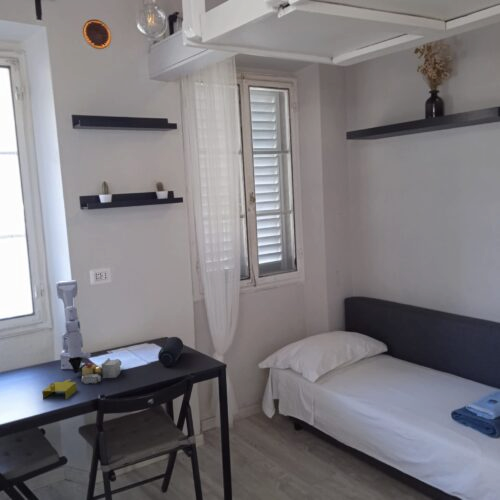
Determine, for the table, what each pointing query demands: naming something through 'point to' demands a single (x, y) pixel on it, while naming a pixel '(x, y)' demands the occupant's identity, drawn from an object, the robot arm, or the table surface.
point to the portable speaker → (170, 351)
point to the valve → (91, 369)
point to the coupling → (111, 368)
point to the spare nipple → (91, 378)
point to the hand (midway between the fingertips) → (76, 372)
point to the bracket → (61, 388)
